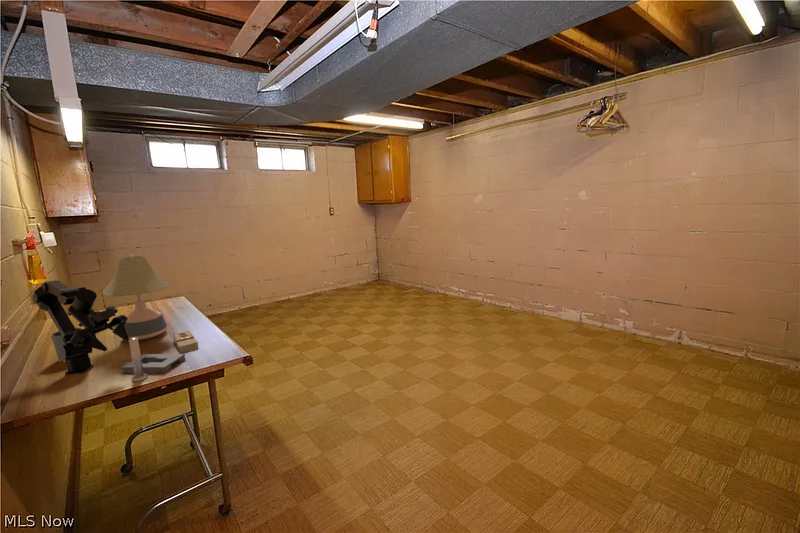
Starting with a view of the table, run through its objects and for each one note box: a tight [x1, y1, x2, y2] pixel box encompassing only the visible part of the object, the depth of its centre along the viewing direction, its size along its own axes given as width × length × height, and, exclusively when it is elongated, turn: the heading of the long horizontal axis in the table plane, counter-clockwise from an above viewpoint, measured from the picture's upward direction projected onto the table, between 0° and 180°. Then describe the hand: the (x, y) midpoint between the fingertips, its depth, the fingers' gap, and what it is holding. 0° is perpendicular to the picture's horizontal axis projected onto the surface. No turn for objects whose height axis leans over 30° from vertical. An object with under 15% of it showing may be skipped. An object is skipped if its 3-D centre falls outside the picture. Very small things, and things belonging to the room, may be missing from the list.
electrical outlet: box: [172, 330, 199, 353], centre depth 166 cm, size 7×4×18 cm
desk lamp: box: [102, 254, 171, 341], centre depth 175 cm, size 26×28×42 cm
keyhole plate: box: [120, 353, 186, 373], centre depth 144 cm, size 18×12×2 cm, turn 86°
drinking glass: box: [50, 327, 83, 362], centre depth 154 cm, size 10×10×12 cm
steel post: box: [127, 337, 148, 383], centre depth 132 cm, size 5×5×16 cm
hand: (117, 345), depth 133 cm, fingers open, 9 cm apart
